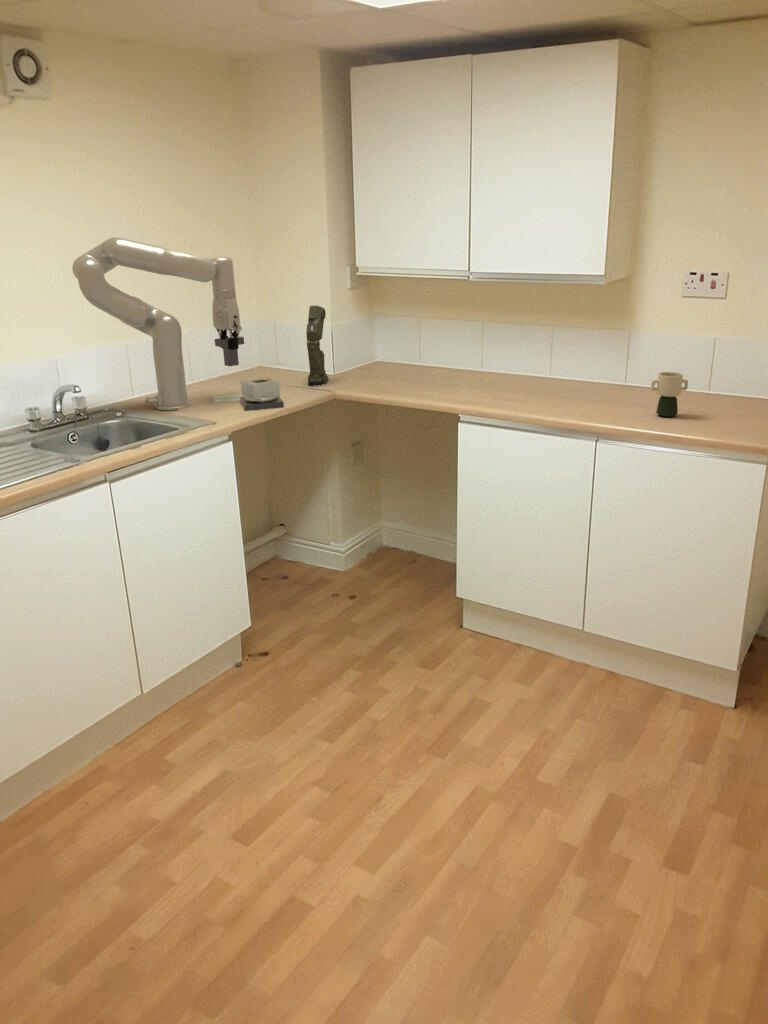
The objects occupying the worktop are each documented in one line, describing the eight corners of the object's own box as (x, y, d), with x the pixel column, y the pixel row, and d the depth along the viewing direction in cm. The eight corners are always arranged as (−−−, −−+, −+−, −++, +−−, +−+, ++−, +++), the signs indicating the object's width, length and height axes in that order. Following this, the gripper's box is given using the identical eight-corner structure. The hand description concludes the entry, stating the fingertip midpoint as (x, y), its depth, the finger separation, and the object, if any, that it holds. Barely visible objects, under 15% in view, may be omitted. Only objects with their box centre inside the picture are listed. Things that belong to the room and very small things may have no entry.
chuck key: (223, 367, 287) (220, 340, 283) (217, 366, 290) (214, 338, 287) (246, 364, 292) (243, 337, 289) (239, 362, 295) (237, 335, 292)
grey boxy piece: (254, 403, 277) (252, 385, 275) (239, 398, 285) (238, 380, 283) (283, 398, 283) (281, 380, 280) (268, 393, 291) (266, 375, 289)
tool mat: (215, 403, 289) (215, 402, 289) (212, 397, 298) (212, 396, 298) (249, 400, 292) (249, 399, 292) (246, 395, 301) (246, 393, 301)
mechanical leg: (320, 386, 308) (321, 303, 304) (301, 385, 309) (302, 303, 306) (330, 387, 321) (331, 308, 318) (312, 386, 323) (313, 308, 319)
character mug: (681, 412, 258) (685, 371, 254) (688, 418, 252) (692, 375, 247) (645, 413, 259) (649, 372, 255) (651, 418, 252) (655, 376, 248)
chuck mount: (245, 410, 277) (244, 405, 277) (240, 402, 289) (240, 397, 288) (283, 407, 281) (283, 401, 280) (277, 399, 292) (277, 394, 292)
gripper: (201, 294, 286) (206, 348, 292) (230, 297, 274) (235, 352, 281) (219, 292, 291) (224, 345, 297) (248, 295, 279) (253, 349, 286)
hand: (229, 348), depth 289 cm, fingers closed on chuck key, 4 cm apart
